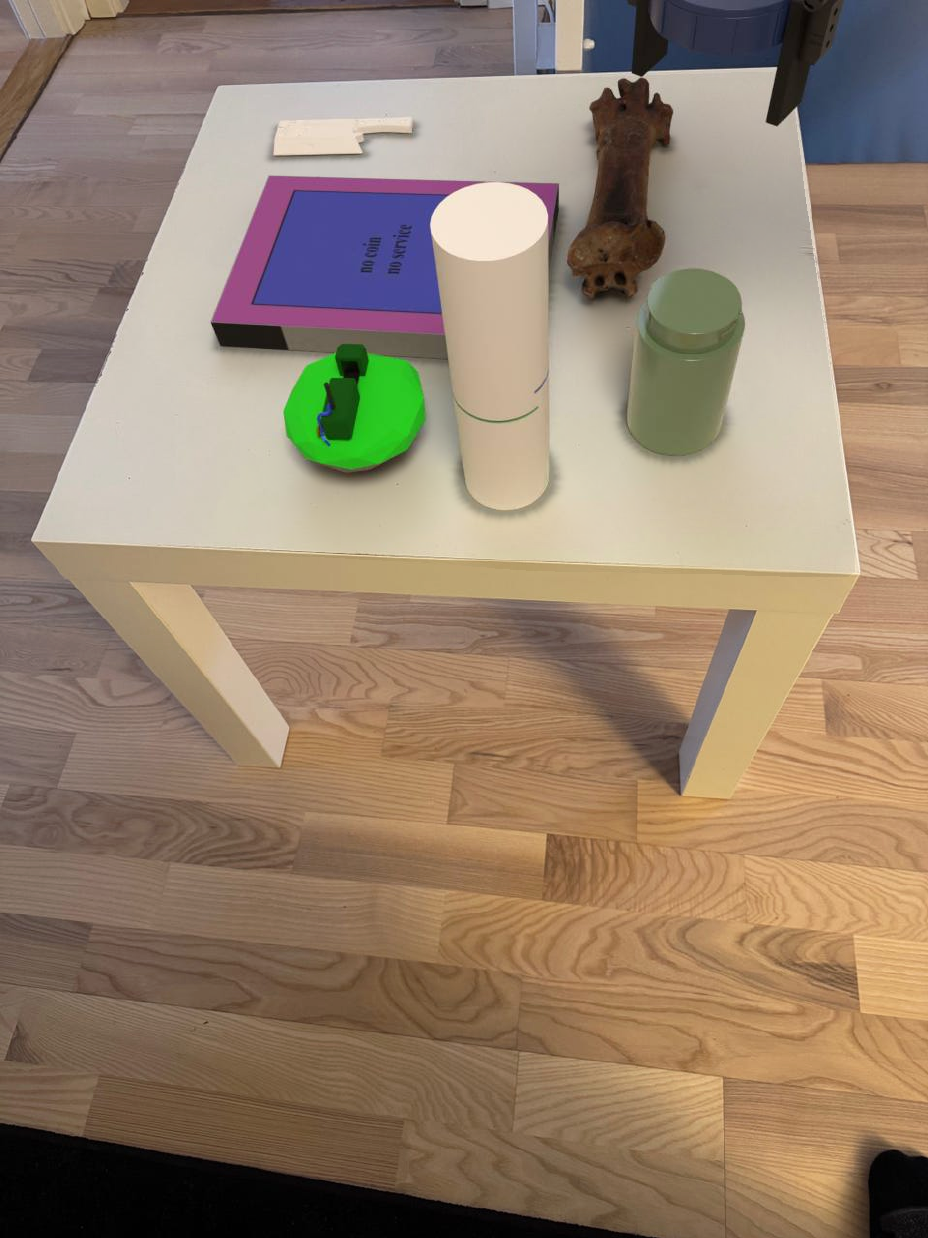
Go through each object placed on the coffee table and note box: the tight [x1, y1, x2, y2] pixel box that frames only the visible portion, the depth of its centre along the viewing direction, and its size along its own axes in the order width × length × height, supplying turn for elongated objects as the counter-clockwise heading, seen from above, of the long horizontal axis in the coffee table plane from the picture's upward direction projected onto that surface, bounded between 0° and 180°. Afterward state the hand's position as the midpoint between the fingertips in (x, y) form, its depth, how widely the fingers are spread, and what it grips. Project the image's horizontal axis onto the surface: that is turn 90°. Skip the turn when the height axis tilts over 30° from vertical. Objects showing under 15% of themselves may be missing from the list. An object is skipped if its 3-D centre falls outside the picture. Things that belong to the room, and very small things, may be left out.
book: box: [210, 175, 560, 360], centre depth 89 cm, size 21×3×30 cm
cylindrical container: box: [430, 181, 550, 511], centre depth 66 cm, size 7×7×25 cm
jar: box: [626, 268, 746, 457], centre depth 73 cm, size 8×8×13 cm
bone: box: [566, 77, 674, 300], centre depth 89 cm, size 9×8×30 cm
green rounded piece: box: [282, 344, 426, 474], centre depth 76 cm, size 12×12×11 cm
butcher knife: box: [273, 116, 414, 156], centre depth 101 cm, size 5×15×1 cm, turn 84°
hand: (714, 86), depth 54 cm, fingers closed on jar lid, 8 cm apart
